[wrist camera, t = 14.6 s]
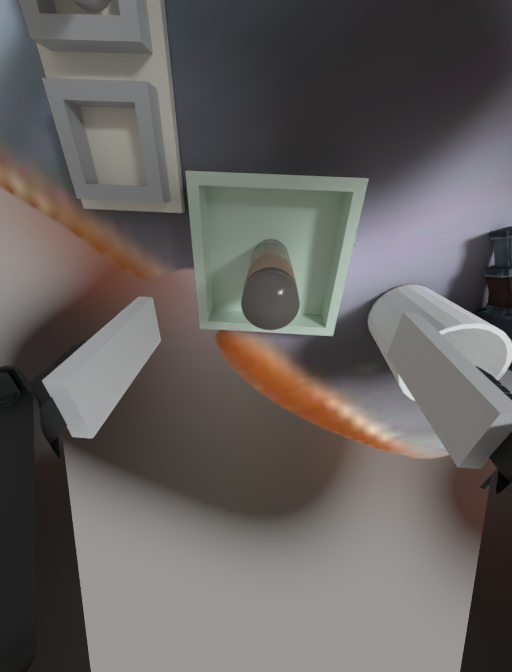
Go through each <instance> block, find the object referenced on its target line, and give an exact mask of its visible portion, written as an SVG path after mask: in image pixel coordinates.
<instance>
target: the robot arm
mask: <svg viewBox="0 0 512 672" xmlns="http://www.w3.org/2000/svg"><path fill="white" fill-rule="evenodd" d="M160 342H161V338H160V333H159V327H158V322H157V318H156V312H155V307H154V302H153V298H152V297H137V298H136V299H135V300H134V301H133V302H132V303H131V304H129V305H128V306H127V307H126V308H125V309H124V310H123V311H121V312H120V313H119V314H118V315H117V316H116V317H115V318H113V319H112V320H111V321H110V322H109V323H108V324H106V325H105V326H104V327H103V328H102V329H101V330H100V331H98V332H97V333H96V334H95V335H94V336H93V337H92V338H90V339H89V340H88V341H83V342H81V343H79V344H77V345H75V346H73V347H71V348H70V349H69V350H68V351H67V352H65V353H64V354H63V355H62V357H59V358H58V359H57V360H56V361H55V362H54V363H52V364H51V365H50V366H48V367H47V368H46V369H45V370H44V371H43V372H41V373H40V374H39V375H38V376H36V377H35V378H34V379H33V380H32V381H31V382H28V381H27V379H26V378H25V376H24V374H23V372H22V370H21V369H20V368H19V367H16V366H3V367H0V672H91V669H90V662H89V654H88V645H87V637H86V629H85V621H84V613H83V604H82V596H81V587H80V579H79V571H78V563H77V555H76V547H75V538H74V530H73V522H72V513H71V505H70V497H69V488H68V480H67V472H66V464H65V456H64V447H63V441H62V439H61V437H60V434H61V432H62V431H63V430H64V429H65V428H66V427H67V428H68V429H69V431H70V433H71V435H72V437H80V438H93V437H94V436H95V434H96V433H97V432H98V430H99V429H100V427H101V426H102V425H103V423H104V422H105V420H106V419H107V417H108V416H109V415H110V413H111V412H112V410H113V409H114V407H115V406H116V404H117V403H118V402H119V400H120V399H121V397H122V396H123V394H124V393H125V391H126V390H127V389H128V387H129V386H130V384H131V383H132V382H133V380H134V379H135V377H136V376H137V374H138V373H139V372H140V370H141V369H142V367H143V366H144V364H145V363H146V361H147V360H148V359H149V357H150V356H151V354H152V353H153V352H154V350H155V349H156V347H157V346H158V344H159V343H160ZM387 357H388V358H389V360H390V361H391V363H392V364H393V366H394V368H395V369H396V371H397V372H398V374H399V375H400V377H401V379H402V380H403V382H404V383H405V385H406V387H407V388H408V390H409V391H410V393H411V394H412V396H413V398H414V399H415V401H416V402H417V404H418V406H419V407H420V409H421V410H422V412H423V413H424V415H425V417H426V418H427V420H428V421H429V423H430V424H431V426H432V428H433V429H434V431H435V432H436V434H437V436H438V437H439V439H440V440H441V442H442V443H443V445H444V447H445V448H446V450H447V451H448V453H449V454H450V456H451V457H452V459H453V461H454V462H455V464H456V465H457V467H462V468H474V469H480V468H481V467H482V466H483V465H484V464H485V462H487V460H488V459H489V458H490V459H491V461H492V462H493V463H494V465H495V466H496V467H497V468H496V470H494V472H493V473H492V474H491V475H490V476H489V477H488V478H487V479H486V480H485V481H484V482H483V483H482V485H481V486H480V487H481V488H483V489H485V488H486V487H487V486H490V487H489V494H488V500H487V506H486V512H485V519H484V525H483V531H482V538H481V544H480V550H479V556H478V563H477V569H476V576H475V582H474V588H473V594H472V601H471V607H470V614H469V620H468V626H467V633H466V639H465V645H464V652H463V658H462V664H461V670H460V672H512V394H510V391H509V390H507V389H506V388H505V387H504V386H501V383H500V382H499V381H498V380H496V379H495V378H494V377H493V376H492V375H491V374H489V373H488V372H486V371H484V370H483V369H481V368H479V367H478V366H474V365H473V364H472V363H471V362H470V361H469V360H468V359H467V358H466V357H465V356H464V355H463V354H462V353H461V352H459V351H458V350H457V349H456V348H455V347H454V346H453V345H452V344H451V343H450V342H449V341H448V340H447V339H446V338H445V337H443V336H442V335H441V334H440V333H439V332H438V331H437V330H436V329H435V328H434V327H433V326H432V325H431V324H430V323H429V322H427V321H426V320H425V319H424V318H423V317H422V316H421V315H420V314H419V313H411V312H403V314H402V317H401V319H400V322H399V324H398V327H397V330H396V332H395V335H394V337H393V340H392V343H391V345H390V348H389V350H388V353H387Z"/></svg>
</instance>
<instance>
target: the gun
mask: <svg viewBox="0 0 512 672" xmlns="http://www.w3.org/2000/svg"><path fill="white" fill-rule="evenodd" d="M490 236H491V240H493V241H494V258H495V266H491V267H487V268H486V269H485V270H484V276H486V279H487V284H488V290H489V296H488V303H487V304H486V309H487V310H485V311H481V312H478V313H474V315H476V316H478V317H479V318H481V319H483V320H485V321H486V322H488V323H490V324H492V325H493V326H495V327H497V328H499V329H500V330H502V331H504V332H505V333H506V335H507V336H508V337H509V338H510V340H511V341H512V226H511V227H506V228H503V229H499V230H495V231H492V232H490ZM508 370H510V371H512V362H511V364H510V365H509V367H508Z"/></svg>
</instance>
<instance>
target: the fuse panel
mask: <svg viewBox="0 0 512 672" xmlns="http://www.w3.org/2000/svg"><path fill="white" fill-rule="evenodd" d="M19 3H20V6H21V9H22V13H23V16H24V20H25V23H26V27H27V30H28V33H29V37H30V39H32V40H33V41H35V42H36V44H37V47H38V51H39V54H40V58H41V61H42V65H43V68H44V72H45V75H46V78H42V81H43V85H44V88H45V91H46V95H47V98H48V102H49V105H50V109H51V112H52V115H53V119H54V122H55V126H56V129H57V132H58V136H59V139H60V143H61V146H62V150H63V153H64V156H65V160H66V163H67V167H68V170H69V173H70V177H71V180H72V184H73V187H74V190H75V194H76V197H77V199H81V201H82V205H83V208H84V209H102V210H124V211H146V212H168V213H184V212H185V204H184V194H183V184H182V174H181V164H180V153H179V143H178V133H177V123H176V113H175V103H174V93H173V83H172V72H171V62H170V52H169V42H168V32H167V22H166V12H165V2H164V0H110V2H109V4H108V5H107V6H106V7H105V8H104V9H103V10H101V11H98V12H90V11H87V10H84V9H83V8H81V7H80V6H79V5H77V4H76V3H75V2H74V1H73V0H19Z"/></svg>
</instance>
